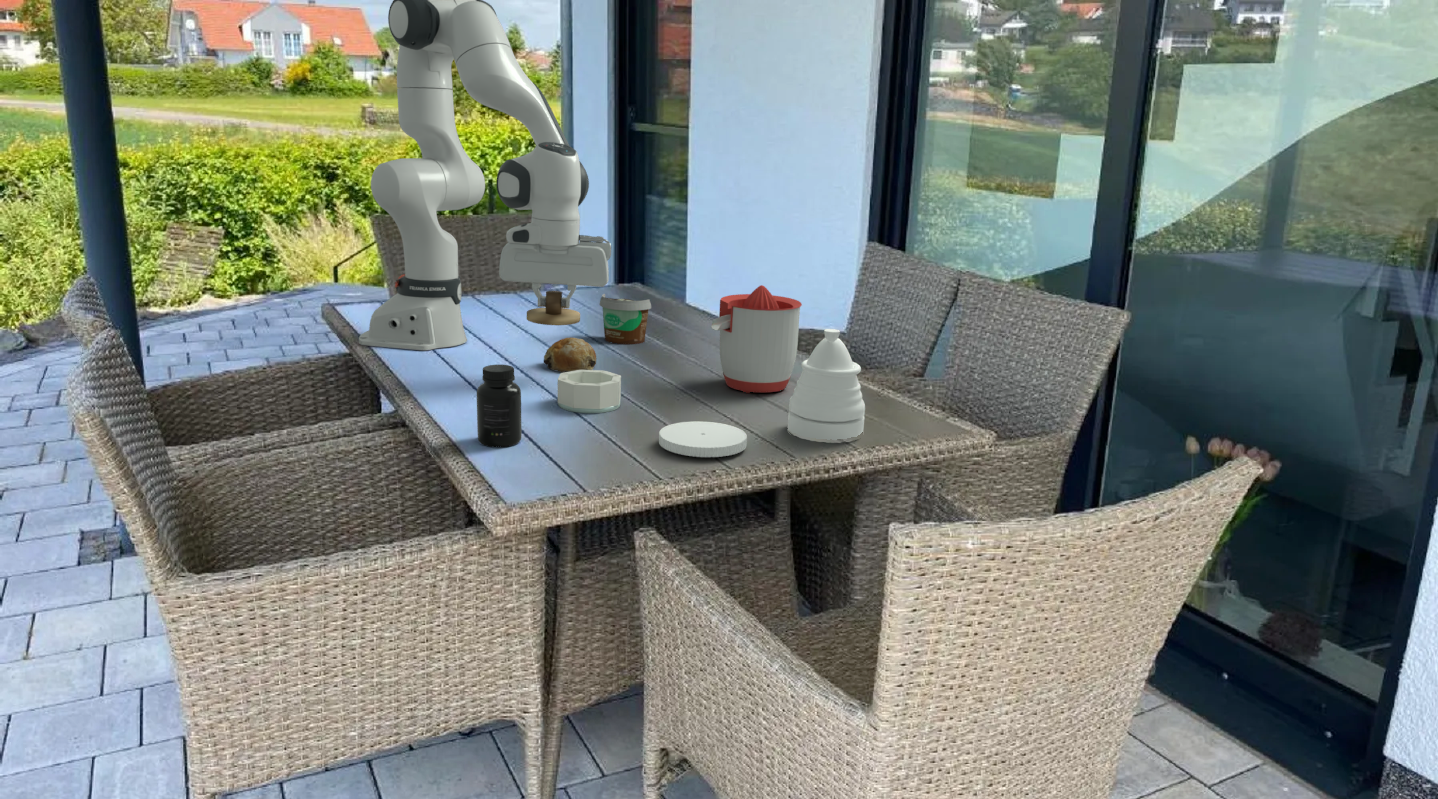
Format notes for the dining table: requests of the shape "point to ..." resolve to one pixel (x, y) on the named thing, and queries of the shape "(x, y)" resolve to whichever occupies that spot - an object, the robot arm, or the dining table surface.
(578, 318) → the wooden lid
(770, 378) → the citrus juicer
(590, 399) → the octagonal jar
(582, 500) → the dining table surface
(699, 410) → the dining table surface
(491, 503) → the dining table surface
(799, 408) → the honey pot
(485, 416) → the supplement bottle
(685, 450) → the plastic lid
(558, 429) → the dining table surface
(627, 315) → the food container
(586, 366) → the bread roll
